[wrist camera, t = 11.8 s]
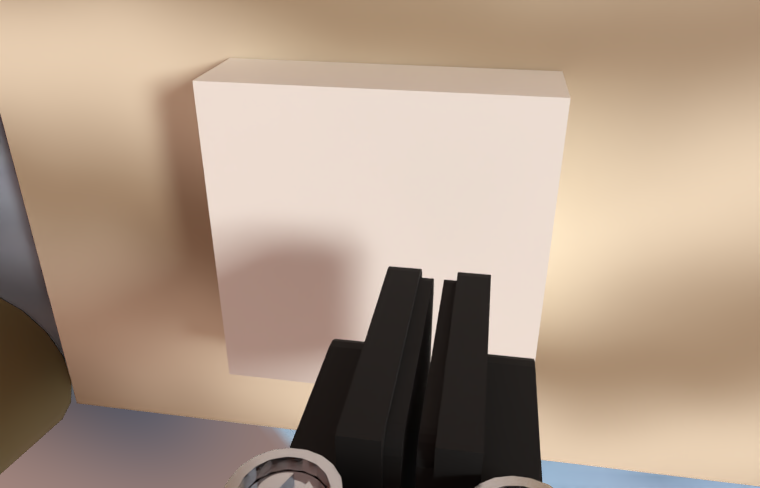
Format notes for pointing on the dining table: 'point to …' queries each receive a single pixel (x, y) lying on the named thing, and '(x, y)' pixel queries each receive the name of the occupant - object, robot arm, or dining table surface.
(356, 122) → the tile
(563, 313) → the birch board
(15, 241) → the dining table surface
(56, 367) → the cork
